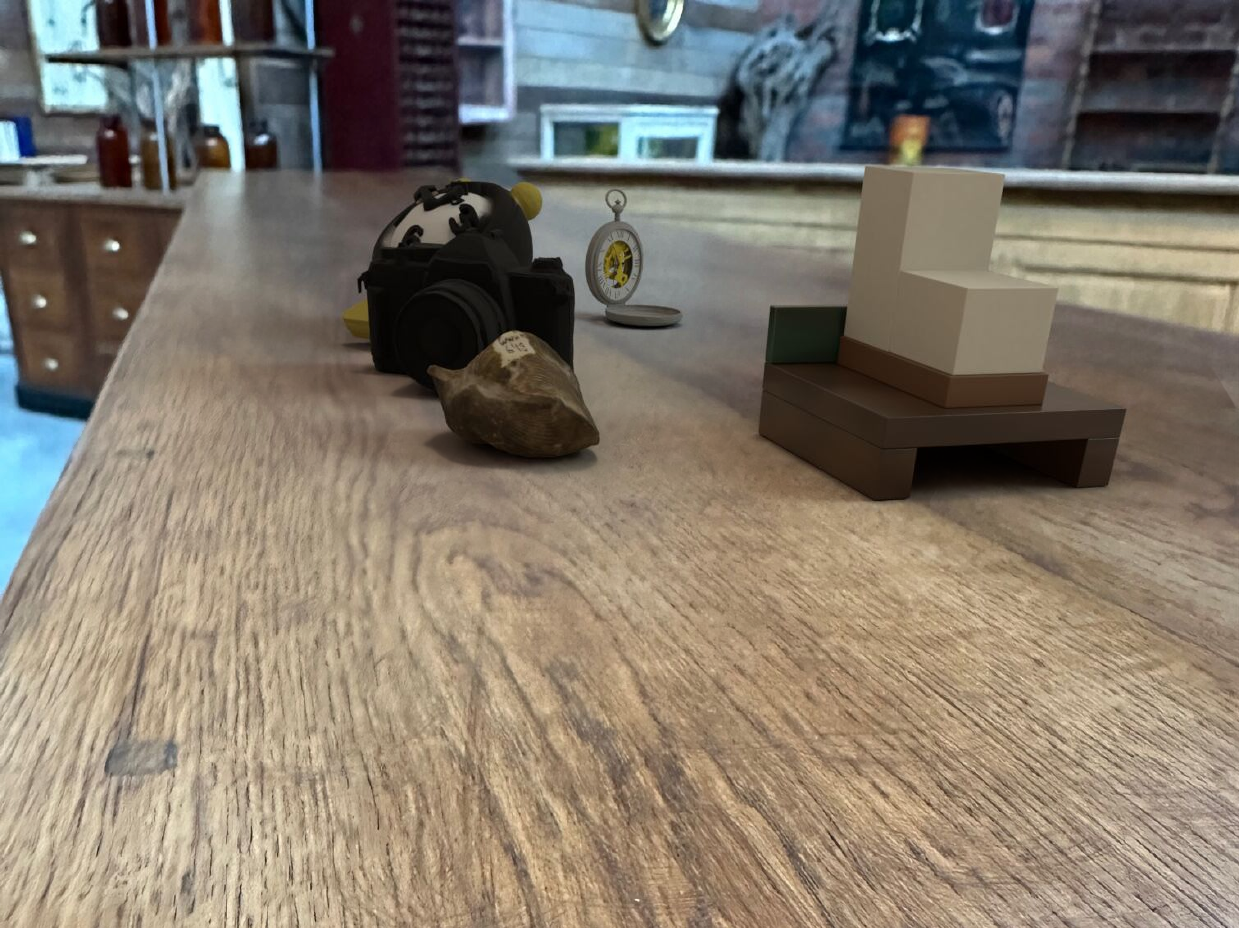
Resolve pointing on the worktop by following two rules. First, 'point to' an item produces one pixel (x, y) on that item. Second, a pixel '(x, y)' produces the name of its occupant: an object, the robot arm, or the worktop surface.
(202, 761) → the worktop surface
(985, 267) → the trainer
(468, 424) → the fossilized seashell
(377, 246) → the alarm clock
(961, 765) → the worktop surface
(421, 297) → the film camera
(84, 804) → the worktop surface
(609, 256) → the pocket watch
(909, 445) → the low wooden bench
